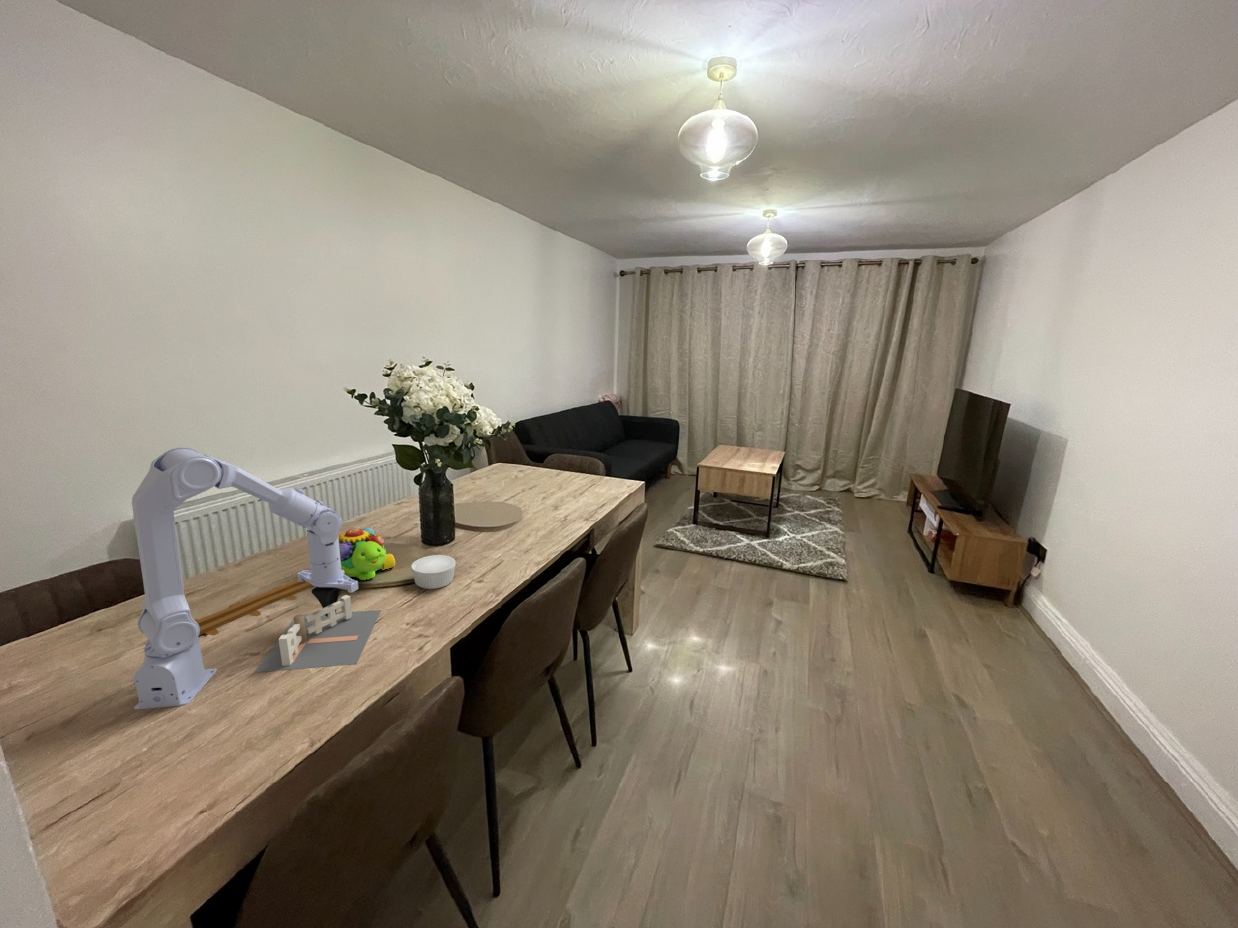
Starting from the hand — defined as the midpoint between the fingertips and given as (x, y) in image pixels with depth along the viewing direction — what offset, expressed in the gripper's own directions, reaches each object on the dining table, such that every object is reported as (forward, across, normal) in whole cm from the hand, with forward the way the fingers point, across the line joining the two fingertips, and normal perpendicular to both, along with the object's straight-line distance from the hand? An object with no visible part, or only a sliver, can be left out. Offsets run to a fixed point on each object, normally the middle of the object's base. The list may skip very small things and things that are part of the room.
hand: (330, 614), depth 111 cm
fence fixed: (+2, -2, +11) cm, 11 cm away
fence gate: (+2, -1, +2) cm, 3 cm away
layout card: (+2, -3, +5) cm, 7 cm away
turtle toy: (+3, +12, -22) cm, 25 cm away
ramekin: (+3, -9, -25) cm, 27 cm away
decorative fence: (+3, +22, +1) cm, 22 cm away
